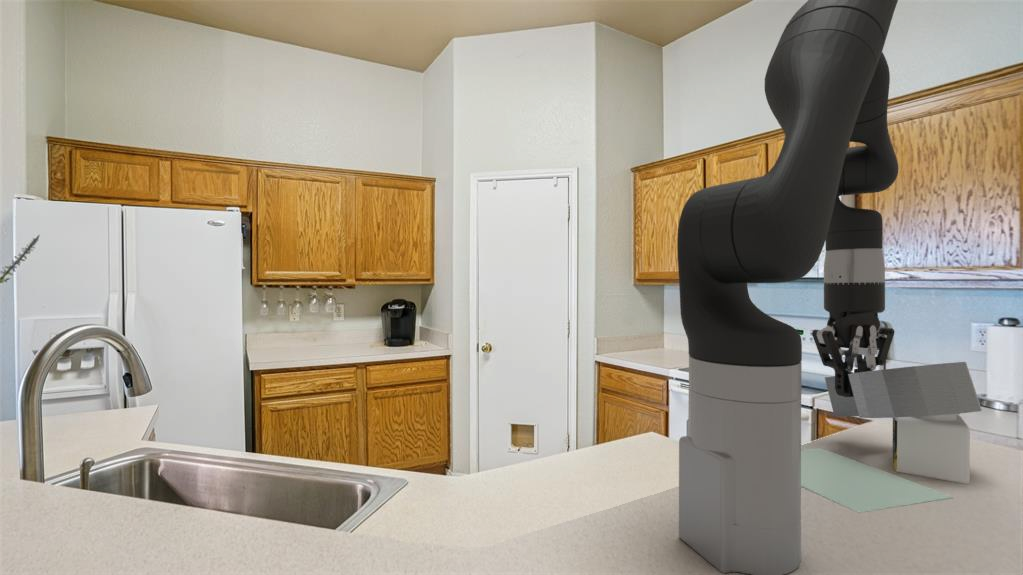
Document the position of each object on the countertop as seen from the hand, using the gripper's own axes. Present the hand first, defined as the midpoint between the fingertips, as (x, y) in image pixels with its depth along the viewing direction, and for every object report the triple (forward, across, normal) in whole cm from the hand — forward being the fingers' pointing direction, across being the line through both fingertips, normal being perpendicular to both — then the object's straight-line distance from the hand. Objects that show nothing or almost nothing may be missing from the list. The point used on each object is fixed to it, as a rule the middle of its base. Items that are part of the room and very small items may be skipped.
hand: (853, 394), depth 73 cm
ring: (+1, 0, -9) cm, 9 cm away
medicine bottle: (+8, +1, -10) cm, 13 cm away
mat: (+8, -13, -8) cm, 18 cm away
